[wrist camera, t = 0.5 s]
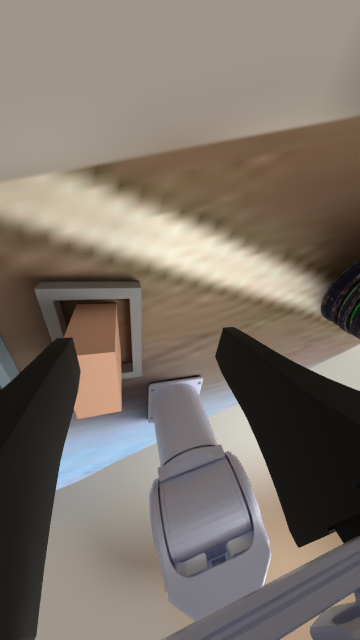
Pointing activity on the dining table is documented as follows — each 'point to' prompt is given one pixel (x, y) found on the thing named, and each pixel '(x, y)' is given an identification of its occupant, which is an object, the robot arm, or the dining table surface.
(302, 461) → the robot arm
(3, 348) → the grey picture frame
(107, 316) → the terracotta block
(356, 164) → the dining table surface
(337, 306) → the storage jar
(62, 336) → the grey rectangular open frame
